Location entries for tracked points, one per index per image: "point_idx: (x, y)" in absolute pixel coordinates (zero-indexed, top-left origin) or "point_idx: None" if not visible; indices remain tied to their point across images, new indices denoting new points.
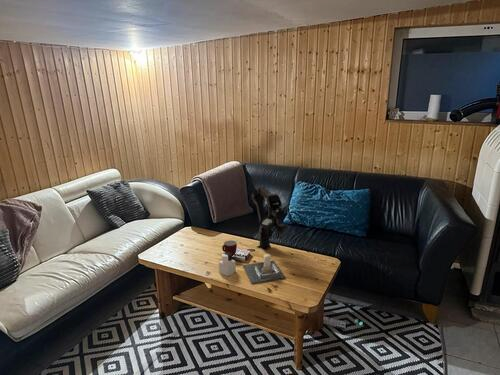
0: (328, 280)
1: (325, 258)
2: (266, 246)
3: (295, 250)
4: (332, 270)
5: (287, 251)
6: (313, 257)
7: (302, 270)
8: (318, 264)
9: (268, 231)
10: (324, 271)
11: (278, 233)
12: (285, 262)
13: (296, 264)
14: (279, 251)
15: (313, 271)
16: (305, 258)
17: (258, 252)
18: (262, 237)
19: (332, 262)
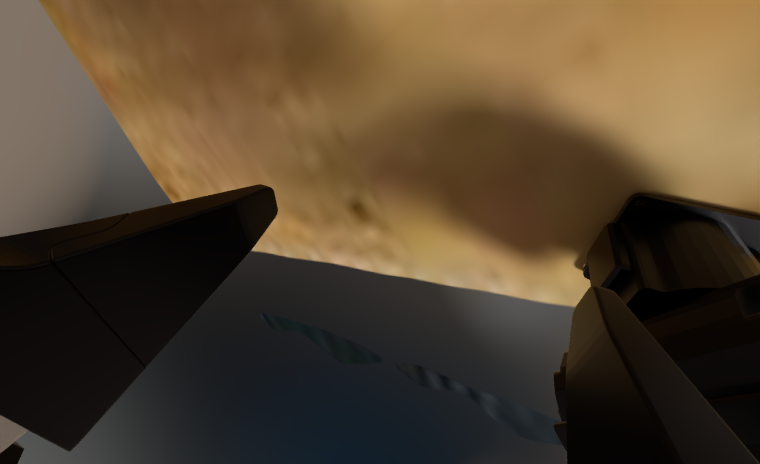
0: (42, 6)
1: None
2: (625, 231)
3: (370, 261)
4: (125, 130)
5: (405, 233)
6: None
7: (164, 12)
8: (190, 154)
9: (568, 406)
10: (124, 96)
11: (71, 234)
12: (311, 48)
13: (243, 75)
14: (460, 212)
15: (136, 54)
16: None
17: (732, 76)
18: (757, 307)
19: None
